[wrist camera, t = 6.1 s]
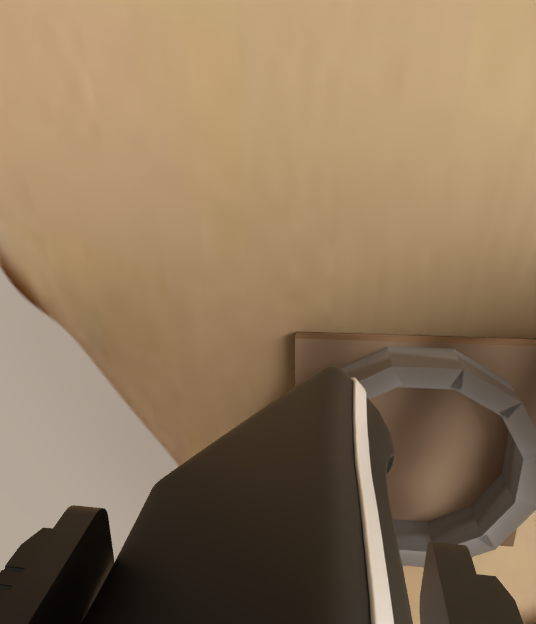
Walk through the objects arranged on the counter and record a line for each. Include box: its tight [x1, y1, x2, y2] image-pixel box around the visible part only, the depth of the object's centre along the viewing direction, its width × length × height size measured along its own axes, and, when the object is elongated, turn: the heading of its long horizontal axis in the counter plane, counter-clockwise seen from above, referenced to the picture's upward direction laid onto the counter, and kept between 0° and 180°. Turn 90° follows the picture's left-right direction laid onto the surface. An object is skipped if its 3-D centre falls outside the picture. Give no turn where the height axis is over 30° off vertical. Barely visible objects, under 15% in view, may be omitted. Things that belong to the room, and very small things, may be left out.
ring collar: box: [295, 332, 536, 567], centre depth 30 cm, size 14×14×4 cm
